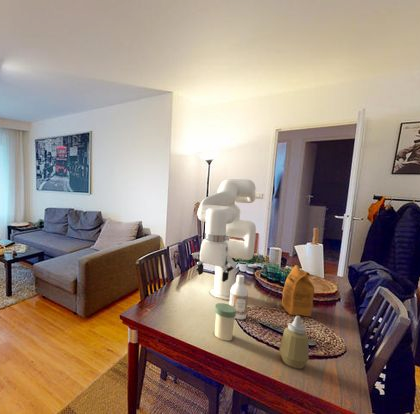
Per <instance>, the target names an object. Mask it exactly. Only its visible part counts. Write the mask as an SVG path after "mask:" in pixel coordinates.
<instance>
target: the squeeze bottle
mask: <svg viewBox="0 0 420 414" xmlns="http://www.w3.org/2000/svg"><path fill="white" fill-rule="evenodd" d="M306 331H307V328H306V327H305V326H304V325H302V320H301V315H295V317H294V319H293V321H292V322H288V324H287V327H285V328H284V329H283V334H282V338H281V340H280V341H281V342H280V345H279V348H278V349H279V353H280V356H281V359H282V362H283V363H284V364H286V365H287V366H289V367H291V368H294V369H303V368H304V367H305V365H306V364H307V363H308V361H309V359H310V351H309V350H310V348H309V347H310V346H309V345H310V344H309V343H310V342H309V341H310V340H309V335H308V334H307V333H306Z"/></svg>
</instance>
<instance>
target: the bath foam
mask: <svg viewBox="0 0 420 414" xmlns="http://www.w3.org/2000/svg"><path fill="white" fill-rule="evenodd" d="M248 300H249V290H248V288H247V286H246V285H245V275H244V274H243V275H242V274H236V279H235V284H234V285H233V286H232V288H231V291H230V300H229V303H228V305H231V306H233V307H234V308H235V309H236V316H235V317H234V319H236V320H245V319H246V318H247V311H248V302H249V301H248Z"/></svg>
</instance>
